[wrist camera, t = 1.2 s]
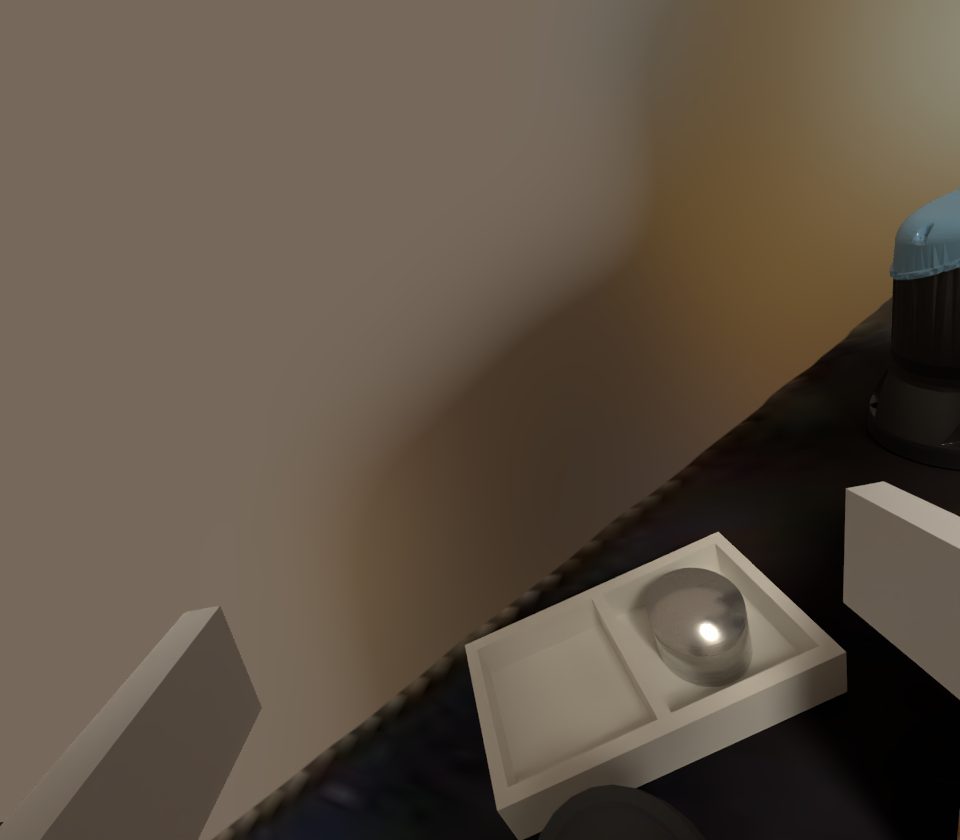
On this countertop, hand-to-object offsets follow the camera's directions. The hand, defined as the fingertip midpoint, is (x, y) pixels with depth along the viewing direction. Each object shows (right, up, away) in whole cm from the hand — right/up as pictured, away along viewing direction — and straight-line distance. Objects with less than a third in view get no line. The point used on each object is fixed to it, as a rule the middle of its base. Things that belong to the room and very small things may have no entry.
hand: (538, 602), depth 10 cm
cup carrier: (+12, -18, +29) cm, 35 cm away
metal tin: (+17, -14, +28) cm, 36 cm away
